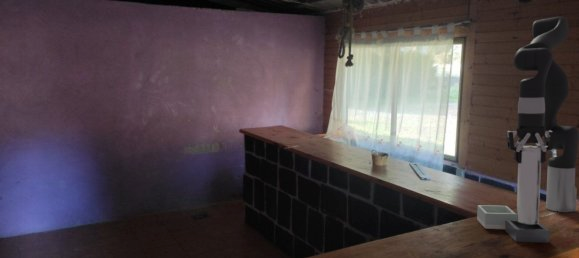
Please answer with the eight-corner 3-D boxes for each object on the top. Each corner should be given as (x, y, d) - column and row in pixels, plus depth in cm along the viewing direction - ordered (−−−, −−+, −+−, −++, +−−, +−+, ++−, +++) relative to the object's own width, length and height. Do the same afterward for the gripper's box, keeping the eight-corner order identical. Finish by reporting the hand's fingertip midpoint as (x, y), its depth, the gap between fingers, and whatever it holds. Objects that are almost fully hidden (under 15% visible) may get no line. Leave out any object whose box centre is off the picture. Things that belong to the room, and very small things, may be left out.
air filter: (533, 218, 146) (536, 144, 143) (542, 224, 140) (545, 148, 137) (513, 218, 147) (515, 145, 144) (521, 224, 140) (523, 148, 137)
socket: (536, 231, 148) (537, 220, 147) (549, 242, 138) (549, 230, 137) (505, 231, 149) (505, 219, 149) (515, 241, 139) (516, 229, 139)
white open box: (506, 220, 160) (506, 205, 160) (515, 229, 150) (516, 214, 150) (477, 219, 162) (477, 205, 161) (484, 228, 152) (485, 213, 151)
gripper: (550, 110, 142) (548, 160, 143) (503, 111, 144) (501, 160, 146) (560, 112, 134) (558, 165, 136) (511, 112, 136) (509, 165, 138)
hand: (529, 162), depth 141 cm, fingers closed on air filter, 6 cm apart
